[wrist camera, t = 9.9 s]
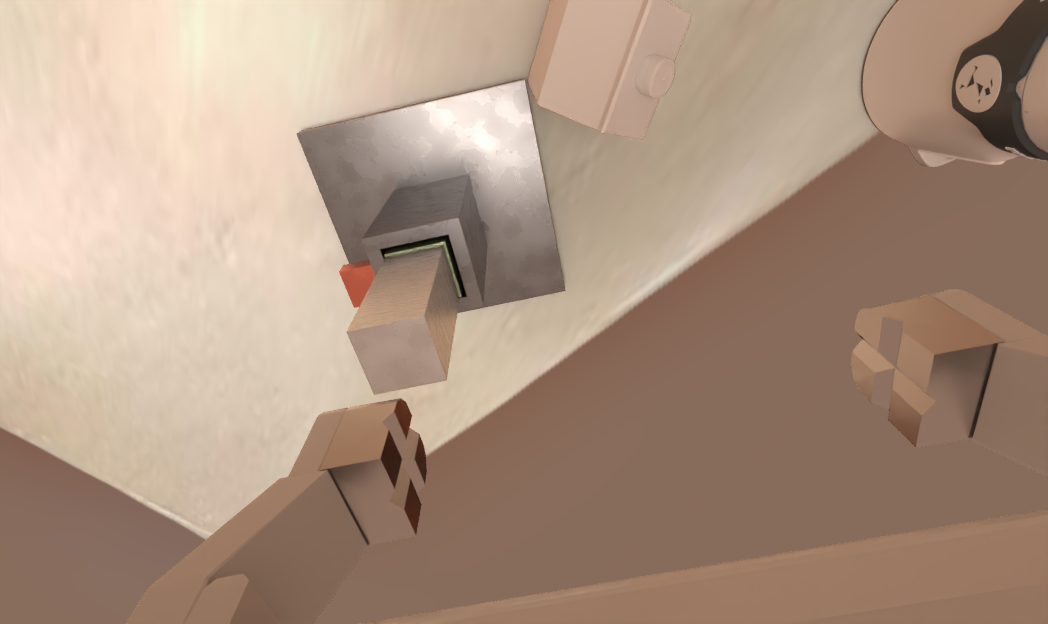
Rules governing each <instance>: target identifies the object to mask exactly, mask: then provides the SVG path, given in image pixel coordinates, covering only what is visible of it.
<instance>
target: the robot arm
mask: <svg viewBox="0 0 1048 624" xmlns="http://www.w3.org/2000/svg"><path fill="white" fill-rule="evenodd" d="M863 97H864V102H865V106H866V109H867V112H868V114H869V116H870V118H871V120H872V121H873V123H874V124H875V125H876V126H877V128H878V129H879V130H881V131H882V132H883V133H884V134H886V135H887V136H889V137H890V138H892V139H895V140H897V141H899V142H901V143H903V144H904V145H906V146H907V147H908V148H909V150H910V152H911V153H912V155H913V156H914V158H915V159H916V161H917V162H918V163H919V164H920V165H922V166H927V167H938V166H941V165H943V164H946V163H948V162H951V161H954V160H956V159H961V160H967V161H973V162H978V163H984V164H989V165H1001V164H1003V163H1004V162H1005V161H1006V160H1010V159H1014V158H1016V157H1019V156H1020V157H1024V158H1028V159H1034V160H1039V161H1040V160H1041V161H1048V0H898V1H897V3H896V4H895V5H894V6H893V7H892V9H891V10H890V11H889V13H888V14H887V16H886V17H885V19H884V20H883V22H882V23H881V25H880V27H879V29H878V30H877V32H876V34H875V36H874V39H873V41H872V43H871V46H870V48H869V51H868V54H867V58H866V62H865V66H864V73H863ZM855 332H856V333H857V334H858V335H859V336H860V337H861V338H862V340H861V342H860V343H859V344H858V345H857V347H856V348H855V349H854V350H853V351H852V362H851V369H852V373H853V376H854V379H855V383H856V384H857V386H858V388H859V390H860V391H861V393H862V394H863V395H864V396H865V397H866V398H867V399H868V400H869V401H870V402H871V403H873V404H875V405H878V406H880V407H883V408H886V409H888V410H889V414H888V421H889V422H890V423H891V424H892V425H893V426H895V427H896V428H897V430H898V431H900V432H901V433H902V435H904V436H905V437H906V438H907V439H908V440H909V441H910V442H911V443H912V444H913V445H914V446H915V447H923V446H930V445H936V444H943V443H950V442H955V441H963V440H969V439H972V442H974V443H976V444H978V445H980V446H982V447H984V448H986V449H988V450H990V451H993V452H995V453H997V454H999V455H1001V456H1003V457H1005V458H1008V459H1010V460H1012V461H1014V462H1016V463H1018V464H1020V465H1022V466H1024V467H1026V468H1029V469H1031V470H1033V471H1035V472H1037V473H1039V474H1041V475H1043V476H1046V477H1048V334H1047V335H1043V334H1042V333H1040V332H1038V331H1036V330H1035V329H1033V328H1031V327H1029V326H1027V325H1026V324H1024V323H1022V322H1020V321H1018V320H1017V319H1015V318H1013V317H1011V316H1009V315H1008V314H1006V313H1004V312H1002V311H1000V310H998V309H997V308H995V307H993V306H991V305H989V304H988V303H986V302H984V301H982V300H980V299H978V298H977V297H975V296H973V295H971V294H970V293H968V292H966V291H964V290H957V289H950V290H946V291H941V292H937V293H933V294H928V295H924V296H921V297H917V298H913V299H908V300H903V301H898V302H894V303H889V304H884V305H880V306H875V307H869V308H865V309H861V310H860V312H859V314H858V315H857V317H856V323H855ZM411 418H412V415H411V412H410V410H409V408H408V406H407V403H406V402H405V401H404V400H402V399H401V398H400V399H394V400H389V401H383V402H377V403H371V404H366V405H360V406H354V407H350V408H343V409H338V410H333V411H328V412H324V413H322V414H320V415H319V416H318V417H317V419H316V421H315V423H314V425H313V427H312V429H311V431H310V433H309V435H308V437H307V439H306V441H305V443H304V446H303V448H302V450H301V452H300V454H299V456H298V458H297V460H296V462H295V464H294V466H293V468H292V470H291V472H290V474H289V476H288V477H286V478H281V479H279V480H278V481H276V482H275V483H274V484H273V485H272V486H270V487H269V488H268V489H267V490H266V491H264V492H263V493H262V494H261V495H260V496H258V497H257V498H256V499H255V500H254V501H252V502H251V503H250V504H249V505H247V506H246V507H245V508H244V509H243V510H241V511H240V512H239V513H238V514H237V515H235V516H234V517H233V518H232V519H231V520H229V521H228V522H227V523H226V524H225V525H223V526H222V527H221V528H220V529H219V530H217V531H216V532H215V533H214V534H213V535H211V536H210V537H209V538H208V539H207V540H205V541H204V542H203V543H202V544H201V545H199V546H198V547H197V548H196V549H194V551H192V552H191V553H190V554H188V555H187V556H186V557H185V558H184V559H182V560H181V561H180V562H179V563H178V564H177V565H175V566H174V567H173V568H172V569H170V570H169V571H168V572H167V573H166V574H164V575H163V576H162V577H161V578H160V579H158V580H157V581H156V582H155V583H154V584H152V585H151V586H150V587H149V588H148V589H147V591H146V592H145V594H144V595H143V597H142V598H141V600H140V601H139V603H138V605H137V606H136V608H135V609H134V611H133V612H132V614H131V616H130V617H129V619H128V620H127V622H126V624H314V623H315V621H316V620H317V619H318V617H319V616H320V615H321V613H322V612H323V611H324V609H325V608H326V607H327V605H328V604H329V602H330V601H331V600H332V598H333V597H334V595H335V594H336V593H337V592H338V590H339V589H340V587H341V586H342V585H343V583H344V582H345V581H346V579H347V578H348V576H349V575H350V573H351V572H352V571H353V570H354V568H355V567H356V565H357V564H358V563H359V561H360V560H361V559H362V557H363V556H364V554H365V553H366V552H367V551H368V549H369V547H368V546H370V545H375V544H380V543H384V542H389V541H394V540H399V539H404V538H409V537H414V536H416V534H417V528H418V523H419V517H420V511H421V505H422V504H421V502H420V500H419V497H418V495H417V493H418V492H419V491H420V490H421V489H422V488H423V486H424V485H425V481H426V475H427V464H426V454H425V449H424V445H423V442H422V440H421V437H420V434H418V433H417V432H415V431H414V430H412V429H411V428H409V427H410V422H411ZM361 624H1048V509H1045V510H1040V511H1033V512H1027V513H1022V514H1016V515H1010V516H1003V517H997V518H991V519H985V520H980V521H973V522H967V523H961V524H955V525H949V526H943V527H937V528H931V529H925V530H919V531H913V532H907V533H901V534H895V535H889V536H883V537H877V538H871V539H865V540H859V541H853V542H847V543H841V544H834V545H828V546H822V547H816V548H810V549H805V550H799V551H792V552H787V553H780V554H774V555H768V556H763V557H757V558H750V559H744V560H738V561H733V562H727V563H721V564H715V565H709V566H703V567H697V568H691V569H685V570H679V571H673V572H667V573H661V574H655V575H649V576H643V577H637V578H631V579H625V580H619V581H613V582H607V583H601V584H596V585H589V586H583V587H577V588H571V589H565V590H559V591H553V592H547V593H541V594H535V595H529V596H523V597H517V598H511V599H505V600H499V601H493V602H487V603H481V604H475V605H470V606H463V607H458V608H451V609H445V610H439V611H433V612H427V613H422V614H415V615H409V616H404V617H397V618H391V619H385V620H379V621H373V622H367V623H361Z"/></svg>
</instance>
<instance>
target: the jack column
mask: <svg viewBox="0 0 1048 624" xmlns="http://www.w3.org/2000/svg"><path fill="white" fill-rule="evenodd" d="M384 256H385V258H384V260H383V262H382V264H381V266H380V268H379V270H378V272H377V274H376V276H375V278H374V280H373V282H372V284H371V286H370V288H369V289H368V291H367V293H366V295H365V297H364V299H363V301H362V303H361V305H360V307H359V309H358V311H357V313H356V315H355V317H354V319H353V320H352V322H351V324H350V326H349V328H348V330H347V334H348V336H349V339H350V341H351V343H352V345H353V348H354V350H355V352H356V355H357V357H358V359H359V361H360V364H361V366H362V368H363V370H364V373H365V375H366V377H367V380H368V382H369V384H370V386H371V389H372V391H373V393H374V395H375V394H380V393H385V392H390V391H395V390H400V389H406V388H411V387H416V386H421V385H426V384H431V383H436V382H441V381H446V380H447V374H448V368H449V362H450V355H451V349H452V343H453V337H454V330H455V324H456V318H457V311H458V305H459V299H460V297H462V291H463V290H462V287H461V286H462V278H461V275H460V271H459V268H458V265H457V261H456V258H455V254H454V251H453V248H452V244H451V241H450V238H449V234H448V235H443V236H439V237H434V238H429V239H425V240H420V241H416V242H411V243H406V244H402V245H397V246H392V247H390V249H387V250H386V252H385V254H384Z"/></svg>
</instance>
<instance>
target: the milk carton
mask: <svg viewBox="0 0 1048 624" xmlns="http://www.w3.org/2000/svg"><path fill="white" fill-rule="evenodd" d="M691 16H692V15H690V14H688V13H687V12H685V11H683V10H682V9H680V8H678V7H676V6H675V5H673V4H671V3H670V2H668V1H666V0H550V4H549V7H548V11H547V14H546V18H545V21H544V25H543V28H542V32H541V35H540V39H539V42H538V46H537V49H536V53H535V56H534V60H533V63H532V67H531V70H530V74H529V77H528V84H529V87H530V89H531V91H532V93H533V95H534V97H535V99H536V101H537V103H538V105H539V106H541V107H543V108H546V109H548V110H551V111H553V112H555V113H558V114H560V115H562V116H565V117H567V118H570V119H572V120H574V121H577V122H579V123H582V124H584V125H586V126H589V127H591V128H593V129H596V130H598V131H599V132H600V133H601V134H604V133H605V132H607V133H612V134H617V135H622V136H627V137H632V138H637V139H643V137H644V135H645V133H646V131H647V128H648V126H649V124H650V121H651V119H652V116H653V114H654V111H655V109H656V106H657V104H658V101H659V99H660V97H662V96H664V95H665V94H666V92H667V91H668V90H669V88H670V86H671V84H672V81H673V79H674V75H675V64H674V61H675V59H676V56H677V54H678V51H679V49H680V46H681V44H682V41H683V39H684V36H685V34H686V31H687V29H688V26H689V23H690V20H691Z"/></svg>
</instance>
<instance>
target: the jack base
mask: <svg viewBox="0 0 1048 624" xmlns="http://www.w3.org/2000/svg"><path fill="white" fill-rule="evenodd" d="M297 136H298V138H299V141H300V143H301V146H302V148H303V151H304V153H305V156H306V158H307V161H308V163H309V166H310V168H311V170H312V173H313V175H314V178H315V180H316V183H317V185H318V188H319V190H320V193H321V195H322V198H323V200H324V202H325V205H326V207H327V210H328V212H329V215H330V217H331V220H332V222H333V225H334V227H335V230H336V232H337V234H338V237H339V239H340V242H341V244H342V247H343V249H344V252H345V254H346V257H347V259H348V262H349V264H347V265H343V267H342V268H341V270H340V271H339V273H340V275H341V277H342V280H343V282H344V284H345V287H346V289H347V292H348V294H349V296H350V299H351V301H352V304H353V306H354V308H355V307H360V305H361V303H362V301H363V299H364V297H365V295H366V293H367V291H368V289H369V288H370V286H371V284H372V282H373V280H374V278H375V276H376V274H377V272H378V270H379V268H380V266H381V264H382V262H383V260H384V258H385V256H384V254H385V252H386V250H387V249H390V247H392V246H397V245H402V244H406V243H411V242H416V241H420V240H425V239H429V238H434V237H439V236H443V235H448V234H449V238H450V241H451V244H452V248H453V251H454V254H455V258H456V261H457V265H458V268H459V271H460V275H461V278H462V286H461V287H462V290H463V291H462V297H460V299H459V305H458V311H457V313H460V312H464V311H469V310H474V309H479V308H484V307H489V306H494V305H498V304H503V303H508V302H513V301H518V300H523V299H528V298H533V297H537V296H542V295H547V294H552V293H557V292H562V291H565V286H564V281H563V276H562V271H561V265H560V260H559V255H558V250H557V245H556V240H555V234H554V229H553V224H552V219H551V214H550V209H549V203H548V198H547V193H546V188H545V183H544V178H543V173H542V167H541V162H540V157H539V152H538V147H537V142H536V136H535V131H534V126H533V121H532V116H531V111H530V105H529V100H528V95H527V90H526V85H525V80H524V79H520V80H516V81H511V82H507V83H503V84H499V85H494V86H490V87H486V88H482V89H477V90H473V91H469V92H465V93H460V94H456V95H452V96H448V97H443V98H439V99H435V100H431V101H426V102H422V103H418V104H414V105H409V106H405V107H401V108H397V109H392V110H388V111H384V112H379V113H375V114H371V115H367V116H362V117H358V118H354V119H350V120H345V121H341V122H337V123H333V124H328V125H324V126H320V127H316V128H311V129H307V130H303V131H301V132H299V133H297Z"/></svg>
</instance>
